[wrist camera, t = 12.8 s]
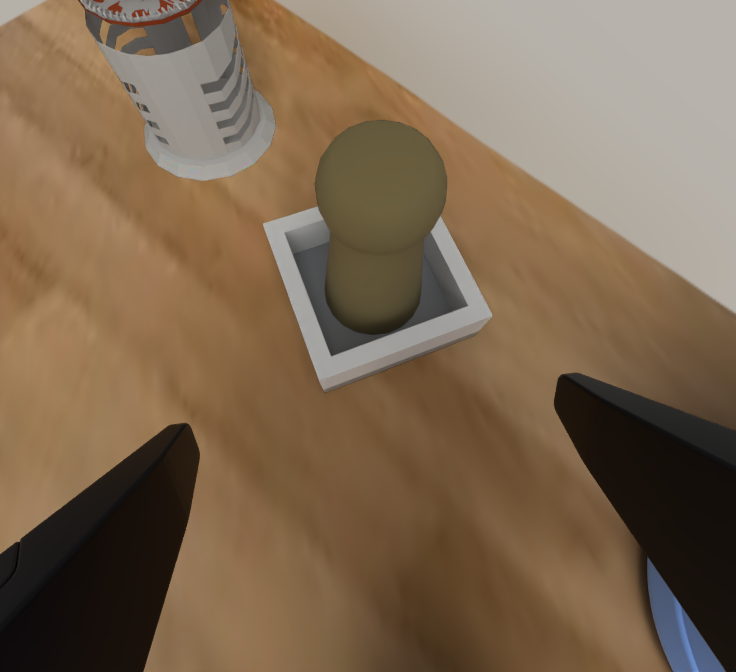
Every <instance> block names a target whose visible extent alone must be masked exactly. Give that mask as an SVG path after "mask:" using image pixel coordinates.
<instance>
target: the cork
mask: <svg viewBox="0 0 736 672" xmlns="http://www.w3.org/2000/svg"><path fill="white" fill-rule="evenodd" d="M315 190H316V197H317V204H318V209H319V212H320V214H321V216H322V217H323V219H324V221H325V223H326V225H327V227H328V228H329V230H330V241H329V250H328V260H327V270H326V279H325V296H326V303H327V305H328V307H329V309H330V311H331V313H332V315H333V316H334V317H335V318H336V319H337V320H338V321H339V322H340V323H341V324H342V325H343V326H345V327H347V328H349V329H351V330H353V331H355V332H357V333H363V334H369V335H378V334H385V333H390V332H392V331H394V330H396V329H398V328H400V327H402V326H403V325H404V324H405V323H406V322H408V321H409V320H410V319H411V318H412V317H413V315H414V313H415V311H416V310H417V308H418V306H419V304H420V296H421V287H422V268H423V249H424V238H425V237H426V236H427V235H428V234H429V233H430V232H431V230H432V229H433V228H434V226H435V224H436V223H437V221H438V219H439V217H440V215H441V213H442V211H443V208H444V205H445V201H446V192H447V175H446V171H445V167H444V164H443V160H442V158H441V157H440V155H439V153H438V152H437V150H436V149H435V147H434V146H433V144H432V143H431V141H430V140H429V139H428V138H427V137H425V136H424V135H423V134H422V133H420V132H419V131H418V130H416V129H414V128H412V127H409V126H407V125H405V124H402V123H400V122H393V121H386V120H377V121H367V122H363V123H360V124H357V125H355V126H352V127H349V128H348V129H346V130H345V131H343V132H342V133H341V134H339V135H338V136H337V137H335V139H334V140H333V141H332V142H331V144H330V145H329V147H328V148H327V149H326V151H325V152H324V154H323V155H322V157H321V159H320V162H319V166H318V170H317V174H316V180H315Z"/></svg>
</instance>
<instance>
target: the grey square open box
mask: <svg viewBox="0 0 736 672" xmlns="http://www.w3.org/2000/svg"><path fill="white" fill-rule="evenodd" d="M263 226H264V229H265V232H266V235H267V237H268V240H269V243H270V246H271V249H272V251H273V254H274V257H275V260H276V262H277V265H278V268H279V271H280V274H281V276H282V279H283V282H284V285H285V287H286V290H287V293H288V296H289V299H290V301H291V304H292V307H293V310H294V312H295V315H296V318H297V321H298V324H299V326H300V329H301V332H302V335H303V337H304V340H305V343H306V346H307V349H308V351H309V354H310V357H311V360H312V362H313V365H314V368H315V371H316V374H317V376H318V379H319V382H320V384H321V386H322V388H323V390H324V392H325V393H327V392H329V391H332V390H334V389H337V388H340V387H342V386H345V385H347V384H350V383H353V382H355V381H358V380H361V379H363V378H366V377H368V376H371V375H374V374H376V373H379V372H381V371H384V370H387V369H389V368H392V367H395V366H397V365H400V364H402V363H405V362H408V361H410V360H413V359H416V358H418V357H421V356H423V355H426V354H429V353H431V352H434V351H436V350H439V349H442V348H444V347H447V346H450V345H452V344H455V343H457V342H460V341H463V340H465V339H468V338H470V337H473V336H475V335H476V334H477V333H478V332H479V331H480V329H481V328H482V327H483V326H484V325H485V324H486V323H487V322H488V321H489V319H490V318H491V317H492V316H493V315H492V313H491V311H490V309H489V307H488V305H487V303H486V301H485V300H484V298H483V296H482V294H481V292H480V290H479V288H478V286H477V284H476V282H475V281H474V279H473V277H472V275H471V273H470V271H469V269H468V267H467V265H466V263H465V262H464V260H463V258H462V256H461V254H460V252H459V250H458V248H457V246H456V244H455V243H454V241H453V239H452V237H451V235H450V233H449V231H448V229H447V227H446V225H445V224H444V222H443V220H442V218H441V216H440V217H439V219H438V221H437V223H436V224H435V226H434V228H433V229H432V230H431V232H430V233H429V234H428V235H427V236H426V237H425V238H424V249H423V268H422V287H421V296H420V304H419V306H418V308H417V310H416V311H415V313H414V315H413V317H412V318H411V319H410V320H409V321H408V322H406V323H405V324H404V325H403V326H402V327H400V328H398V329H396V330H394V331H392V332H390V333H385V334H378V335H369V334H363V333H357V332H355V331H353V330H351V329H349V328H347V327H345V326H343V325H342V324H341V323H340V322H339V321H338V320H337V319H336V318H335V317H334V316H333V315H332V313H331V311H330V309H329V307H328V305H327V303H326V296H325V279H326V270H327V260H328V250H329V241H330V230H329V228H328V227H327V225H326V223H325V221H324V219H323V217H322V216H321V214H320V212H319V209H318V207H314V208H311V209H308V210H305V211H302V212H298V213H295V214H292V215H289V216H286V217H282V218H279V219H276V220H273V221H270V222H266V223H263Z"/></svg>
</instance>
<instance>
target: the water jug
mask: <svg viewBox="0 0 736 672" xmlns="http://www.w3.org/2000/svg"><path fill="white" fill-rule="evenodd" d="M647 579H648V591H649V598H650V604H651V610H652V614H653V618H654V622H655V626H656V629H657V633H658V636H659V639H660V642H661V645H662V647H663V650H664V652H665V655H666V657H667V660H668V662H669V664H670V666H671V668H672V670H673V672H726V671H725V670H724V668H723V667H722V665H721V664H720V662H719V661H718V660H717V658H716V657H715V655H714V654H713V652H712V651H711V649H710V648H709V646H708V645H707V643H706V642H705V640H704V639H703V638H702V636H701V635H700V633H699V632H698V630H697V629H696V627H695V626H694V624H693V623H692V621H691V620H690V618H689V617H688V615H687V614H686V613H685V611H684V610H683V608H682V607H681V605H680V604H679V602H678V601H677V599H676V598H675V596H674V595H673V593H672V592H671V591H670V589H669V588H668V586H667V585H666V583H665V582H664V580H663V579H662V577H661V576H660V574H659V573H658V571H657V570H656V568H655V567H654V566H653V564H652V563H651V561H650V560H649V558H648V559H647Z"/></svg>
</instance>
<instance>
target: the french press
mask: <svg viewBox="0 0 736 672" xmlns="http://www.w3.org/2000/svg"><path fill="white" fill-rule="evenodd" d="M78 1H79V2H80V3H81V5H82V6H83V8H84V9H85V16H86V26H87V28H88V29H89V31H90V33H91V34H92V36H93V38H94V39H95V41H96V43H97V44H98V46H99V47H100V49H101V51H102V52H103V54H104V56H105V57H106V59H107V61H108V62H109V64H110V66H111V67H112V68H113V70H114V71H115V73H116V74H117V76H118V78H119V80H120V81H121V83H122V85H123V82H124V84H125V86H126V87H125V86H124V85H123V86H124V88H125V89H126V91H127V92H128V94H129V96H130V97H131V99H132V101H133V102H134V104H135V102H136V104H135V106H136V107H137V109H138V110H139V112H140V114H141V115H142V117H143V118H144V120H145V121H146V125H145V127H144V132H145V145H146V149H147V150H148V152H149V153H150V155H151V156H152V158H153V159H154V161H155V162H156V164H157V165H158V166H160V167H162V168H163V169H165V170H167V171H169V172H171V173H172V174H174V175H176V176H178V177H182V178H189V179H196V180H203V181H206V180H211V179H217V178H223V177H229V176H232V175H234V174H236V173H238V172H240V171H242V170H244V169H245V168H247V167H249V166H251V165H253V164H255V163H256V161H257V160H258V159H259V158H260V157H261V156H262V155H263V154H264V152H265V151H266V150H267V149H268V148H269V147H270V145H271V141H272V138H273V135H274V131H275V128H276V124H275V119H274V114H273V110H272V107H271V106H270V104H269V103H268V102H267V101H266V100H265V99H264V97H263V96H262V95H261V94H260V93H259V92H258V91H256V90H254V88H253V85H252V82H251V79H250V74H249V70H248V67H247V65H246V62H245V56H244V52H243V49H242V46H241V45H240V41H239V36H238V32H237V28H236V24H235V23H234V19H233V13H232V10H231V6H230V3H229V0H78ZM220 4H222V5H226V6H227V8H228V9H227V11H226V13H225V15H223V14H222V10H221V7H220ZM189 12H191V14H192V16H193V19H194V22H195V24H196V27H197V30H198V33H199V35H200V38H201V42H199V43H196V44H194V45H192V44H191V41H190V39H189V36H188V34H187V31H186V29H185V26H184V24H183V21H182V19H181V16H183V15H185V14H188V13H189ZM102 20H104V21H106V22H108V23H110V24H111V25H110V27H109V31H108V36H107V40H106V45H107V46H106V45H104V44H103V43H102V40H101V37H100V35H99V33H100V28H101V23H102ZM131 28H144V29H145V31H146V33H147V35H148V36H147V37H141V38H135V39H134V40H132V41H131V42H129V43H128V44H126V45H124V46H123V47H122V50H121V51H117V50H115V44H116V39H117V37H118V36H119V35H121V34H123V33H124V32H126V31H127V30H129V29H131ZM235 32H236V34H237V39H238V41H237V40H236V38H235ZM146 48H154V49H155V52H156V54H157V55H153V56H142V55H134V54H135V53H136V52H138V51H139V50H141V49H146ZM233 48H237V53H236V55H235V53H234V50H233ZM241 55H243V60H244V61H243V60H242V58H241ZM240 66H241V67H243V73H240ZM247 73H248V77H249V78H248V77H247ZM127 83H128V84H130V86H131V90H132V92H130V89H129V86H128V84H127ZM136 89H137V91H138V93H139V94H140V95H139V94H136ZM138 103H140V104H141V106H142V109H143V111H142V110H140V107H139V104H138Z"/></svg>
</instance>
